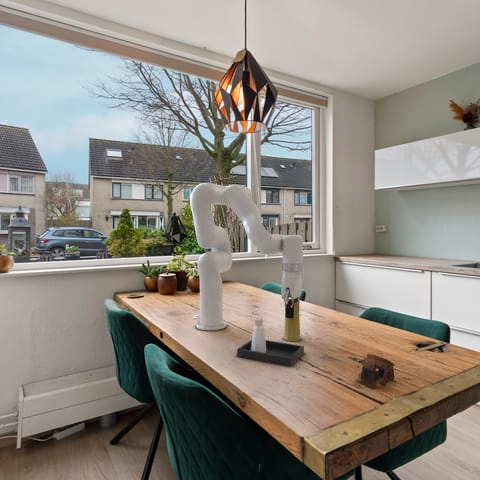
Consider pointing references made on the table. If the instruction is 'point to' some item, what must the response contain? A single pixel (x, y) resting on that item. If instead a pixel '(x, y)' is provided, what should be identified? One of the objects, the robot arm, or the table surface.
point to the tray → (273, 353)
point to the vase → (293, 325)
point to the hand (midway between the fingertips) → (292, 315)
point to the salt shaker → (258, 337)
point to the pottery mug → (370, 373)
